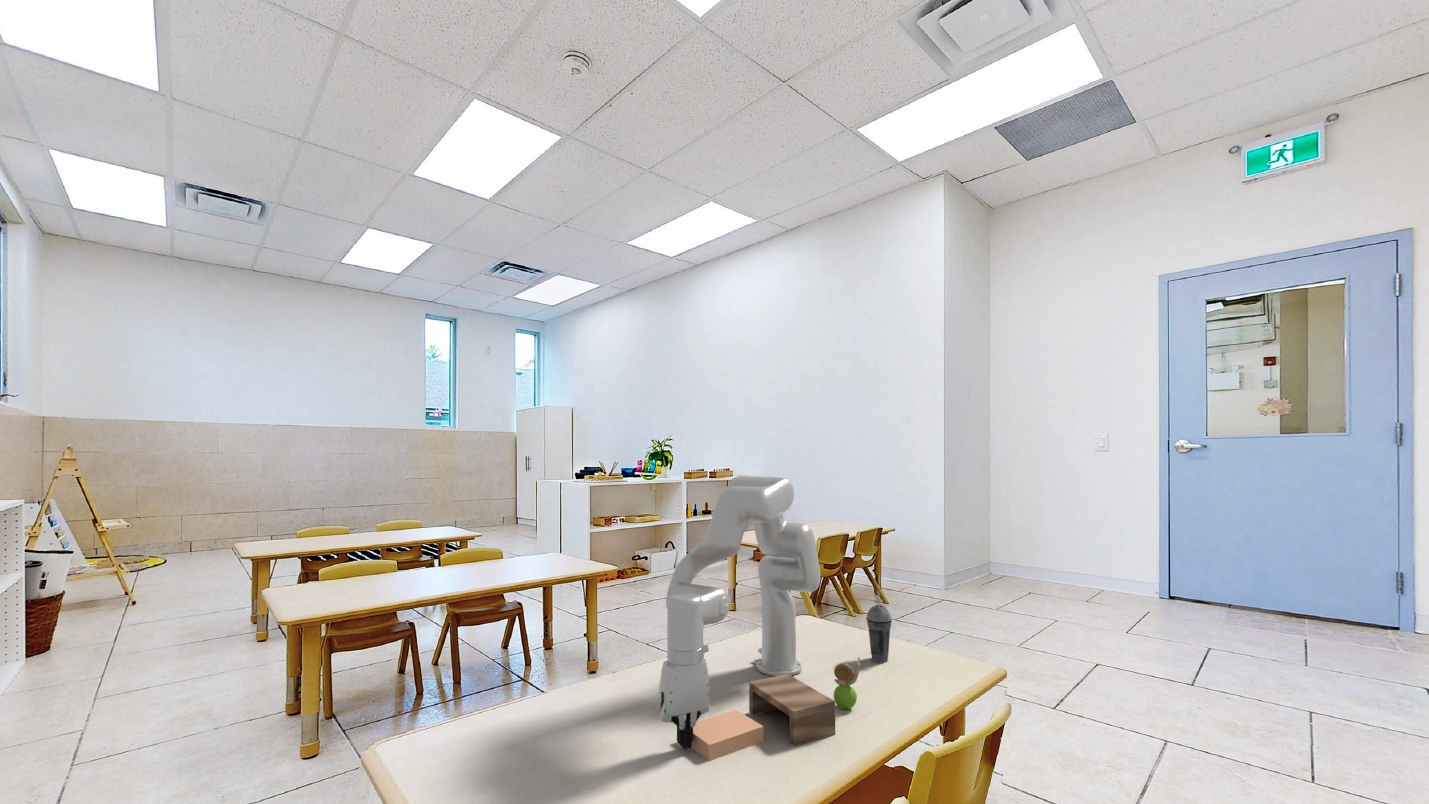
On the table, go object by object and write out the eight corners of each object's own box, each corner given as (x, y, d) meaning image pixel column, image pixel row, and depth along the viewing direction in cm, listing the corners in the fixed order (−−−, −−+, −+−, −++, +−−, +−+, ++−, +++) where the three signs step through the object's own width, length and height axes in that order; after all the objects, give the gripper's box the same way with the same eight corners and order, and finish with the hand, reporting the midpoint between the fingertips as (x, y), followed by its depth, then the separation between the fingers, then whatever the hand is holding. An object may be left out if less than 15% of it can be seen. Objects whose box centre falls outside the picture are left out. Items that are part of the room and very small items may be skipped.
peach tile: (682, 742, 131) (682, 725, 131) (735, 725, 139) (735, 709, 139) (709, 763, 122) (709, 744, 123) (763, 743, 130) (763, 726, 131)
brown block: (749, 712, 144) (749, 682, 145) (787, 703, 149) (787, 673, 150) (794, 746, 128) (793, 711, 129) (835, 734, 133) (835, 701, 134)
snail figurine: (861, 714, 143) (860, 661, 144) (833, 711, 144) (833, 659, 145) (860, 704, 149) (860, 654, 149) (833, 702, 150) (833, 652, 151)
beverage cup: (893, 657, 181) (892, 588, 183) (892, 665, 174) (890, 594, 176) (868, 654, 184) (867, 586, 185) (865, 662, 177) (864, 592, 178)
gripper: (708, 644, 134) (708, 730, 133) (645, 655, 127) (644, 746, 126) (725, 654, 128) (725, 745, 127) (659, 666, 121) (658, 763, 120)
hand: (684, 745), depth 126 cm, fingers closed
